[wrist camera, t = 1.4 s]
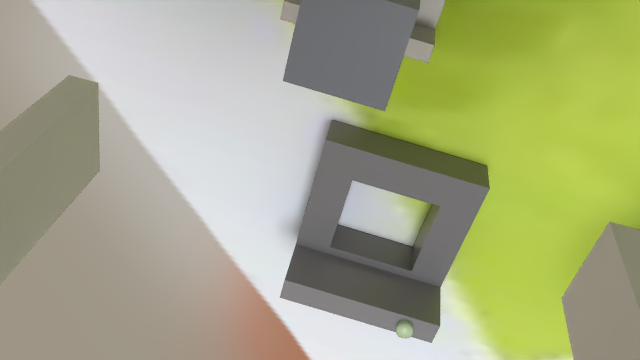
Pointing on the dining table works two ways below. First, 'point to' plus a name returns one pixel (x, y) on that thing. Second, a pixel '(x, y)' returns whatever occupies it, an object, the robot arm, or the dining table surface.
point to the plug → (351, 47)
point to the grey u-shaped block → (421, 33)
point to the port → (378, 253)
